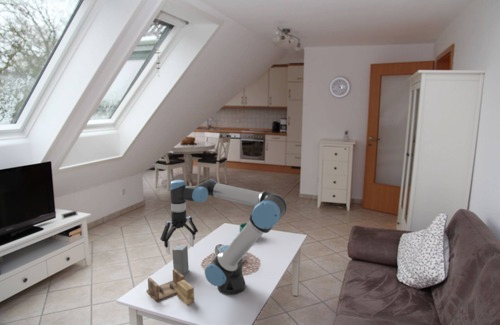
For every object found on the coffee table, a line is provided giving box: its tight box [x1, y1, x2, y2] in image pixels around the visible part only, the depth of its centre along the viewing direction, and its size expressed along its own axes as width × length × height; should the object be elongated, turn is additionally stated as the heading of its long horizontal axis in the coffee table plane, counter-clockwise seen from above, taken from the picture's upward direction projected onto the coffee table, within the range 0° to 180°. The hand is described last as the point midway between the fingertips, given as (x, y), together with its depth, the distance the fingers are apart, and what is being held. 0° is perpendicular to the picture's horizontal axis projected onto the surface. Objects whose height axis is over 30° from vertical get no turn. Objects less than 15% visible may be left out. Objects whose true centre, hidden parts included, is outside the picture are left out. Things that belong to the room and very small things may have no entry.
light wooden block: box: [176, 279, 195, 306], centre depth 172 cm, size 4×10×8 cm, turn 41°
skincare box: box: [171, 244, 190, 277], centre depth 198 cm, size 8×7×16 cm
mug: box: [239, 222, 248, 233], centre depth 248 cm, size 17×13×10 cm
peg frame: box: [146, 268, 185, 303], centre depth 179 cm, size 12×17×8 cm
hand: (180, 249), depth 177 cm, fingers open, 13 cm apart
